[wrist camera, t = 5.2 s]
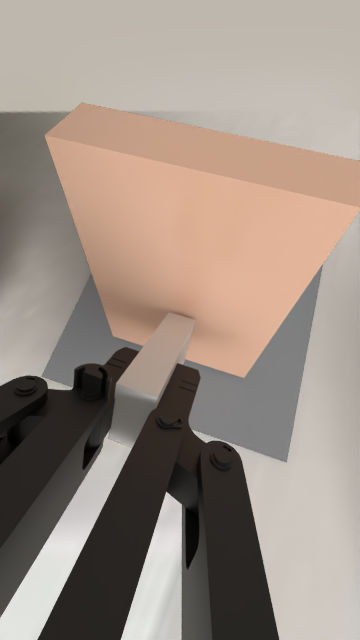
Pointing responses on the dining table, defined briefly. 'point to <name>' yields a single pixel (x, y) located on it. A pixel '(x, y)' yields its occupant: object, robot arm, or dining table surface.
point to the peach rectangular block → (199, 226)
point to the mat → (211, 374)
